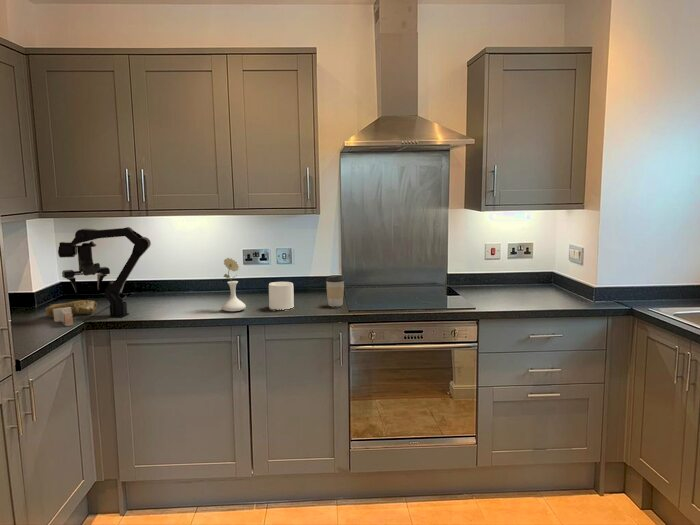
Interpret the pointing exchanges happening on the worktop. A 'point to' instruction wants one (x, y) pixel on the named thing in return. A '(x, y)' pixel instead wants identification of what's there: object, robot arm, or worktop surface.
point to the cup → (281, 295)
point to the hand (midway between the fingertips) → (87, 291)
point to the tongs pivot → (57, 313)
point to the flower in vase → (232, 289)
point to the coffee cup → (335, 290)
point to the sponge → (74, 307)
